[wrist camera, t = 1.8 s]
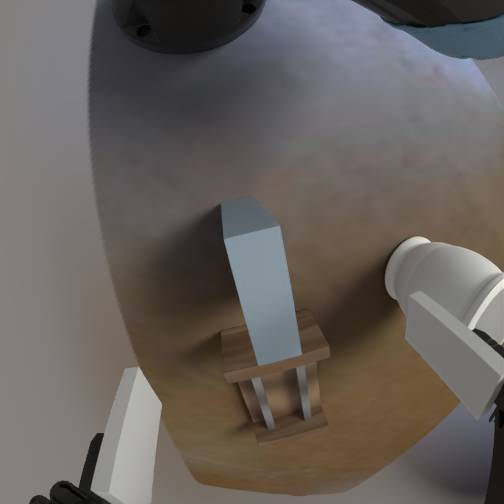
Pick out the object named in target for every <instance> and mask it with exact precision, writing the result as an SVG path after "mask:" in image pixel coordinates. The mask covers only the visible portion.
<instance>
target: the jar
mask: <svg viewBox="0 0 504 504" xmlns="http://www.w3.org/2000/svg"><path fill="white" fill-rule="evenodd" d="M385 286H386V290H387V292H388V293H389V295H390V296H391V297H392V298H394V299H395V300H397V301H398V303H399V306H400V308H401V310H402V311H403V313H404V314H405V316H406V317H407V314H408V301H409V295H411V294H413V293H416V292H418V291H422V292H423V293H424V294H426V295H427V296H428V297H430V298H431V299H432V300H434V301H435V302H436V303H438V304H439V305H440V306H441V307H443V308H444V309H445V310H447V311H448V312H449V313H450V314H452V315H453V316H454V317H455V318H457V319H458V320H459V321H460V322H462V323H463V324H464V325H465V326H466V327H468V328H469V329H470V330H473V329H475V328H476V329H479V330H481V331H484V332H485V333H487V334H488V335H489V336H490V337H491V338H492V339H494V340H495V341H496V342H498V344H500V345H501V344H502V343H503V341H504V272H501V271H500V270H499V269H498V268H497V267H496V266H495V265H494V264H493V263H492V262H490V261H489V260H488V259H486V258H485V257H483V256H481V255H480V254H478V253H476V252H474V251H471V250H469V249H466V248H462V247H458V246H452V245H449V244H445V243H440V242H430V241H429V240H428V239H426V238H424V237H412V238H409V239H407V240H406V241H404V242H403V243H402V244H400V245H399V246H398V248H397V249H396V250H395V251H394V253H393V254H392V256H391V258H390V260H389V262H388V264H387V267H386V272H385Z"/></svg>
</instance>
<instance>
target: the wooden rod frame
mask: <svg viewBox="0 0 504 504" xmlns="http://www.w3.org/2000/svg"><path fill="white" fill-rule="evenodd" d="M295 314H296V320H297V326H298V332H299V339H300V345H301V352H302V355H299V356H296V357H292V358H288V359H285V360H281V361H277V362H273V363H269V364H265V365H261V366H258V363H257V359H256V356H255V352H254V349H253V345H252V342H251V338H250V335H249V331H248V328H247V325H244V326H239V327H235V328H231V329H226V330H222V331H221V346H222V364H223V374H224V377H225V379H226V382H227V384H230V383H235V382H238V384H239V387H240V389H241V392H242V395H243V397H244V400H245V402H246V405H247V407H248V410H249V412H250V415H251V417H252V420H253V422H254V427H255V433H256V439H257V444H258V446H259V447H262V446H267V445H271V444H276V443H280V442H284V441H288V440H292V439H296V438H299V437H303V436H306V435H310V434H313V433H317V432H320V431H323V430H326V429H329V424H328V422H327V419H326V417H325V415H324V412H323V410H322V407H321V403H320V392H319V381H318V371H317V361H320V360H323V359H326V358H329V357H330V346H329V344H328V342H327V340H326V339H325V337H324V335H323V333H322V332H321V330H320V328H319V326H318V325H317V323H316V321H315V320H314V318H313V316H312V314H311V313H310V311H309V309H305V310H301V311H298V312H295Z"/></svg>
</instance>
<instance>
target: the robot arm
mask: <svg viewBox="0 0 504 504" xmlns="http://www.w3.org/2000/svg"><path fill="white" fill-rule="evenodd" d="M352 1H354V2H356V3H357V4H359V5H361V6H363V7H365V8H367V9H369V10H370V11H372V12H374V13H376V14H377V15H379V16H380V17H381V18H382V19H383V21H384V22H385V23H387V24H389V25H390V26H392V27H394V28H397V29H400V30H403V31H405V32H407V33H408V34H410V35H412V36H413V37H415V38H416V39H418V40H419V41H421V42H422V43H424V44H425V45H427V46H428V47H430V48H431V49H433V50H435V51H437V52H439V53H441V54H444V55H447V56H450V57H454V58H459V59H467V58H474V59H477V60H485V59H493V58H499V57H503V56H504V0H352ZM265 2H266V0H112V11H113V15H114V18H115V21H116V23H117V24H118V26H119V27H120V29H121V30H122V31H123V32H124V34H125V35H126V36H127V37H128V38H129V39H130V40H131V41H133V42H134V43H135V44H137V45H139V46H141V47H143V48H145V49H148V50H151V51H155V52H160V53H169V54H185V53H194V52H200V51H204V50H208V49H212V48H215V47H218V46H221V45H223V44H225V43H227V42H230V41H231V40H233V39H235V38H237V37H238V36H240V35H241V34H243V33H244V32H245V31H247V30H248V29H249V28H250V27H251V26H252V25H253V24H254V23H255V22H256V20H257V19H258V18H259V16H260V14H261V12H262V10H263V8H264V5H265ZM405 339H406V340H407V341H408V343H409V344H410V345H411V346H412V347H413V348H414V349H415V350H416V351H417V352H418V353H419V354H420V355H421V357H422V358H423V359H424V360H425V361H426V362H427V363H428V364H429V365H430V366H431V368H432V369H433V370H434V371H435V372H436V373H437V374H438V375H439V377H440V378H441V379H442V380H443V381H444V382H445V383H446V385H447V386H448V387H449V388H450V389H451V390H452V391H453V393H454V394H455V395H456V396H457V397H458V398H459V400H460V401H461V402H462V403H463V404H464V405H465V407H466V408H467V409H468V410H469V411H470V413H471V414H472V415H473V416H474V417H475V419H476V420H479V419H480V418H481V417H483V416H484V415H485V414H486V413H488V412H489V410H490V409H491V407H492V405H493V403H495V404H496V405H497V407H496V409H495V410H494V412H493V414H492V415H491V417H490V419H489V422H491V421H492V419H493V418H494V416H495V420H494V422H495V433H494V448H493V457H492V465H491V472H490V478H489V484H488V489H487V495H486V499H485V503H484V504H504V348H503V347H502V346H501V345H500V344H498V342H496V341H495V340H494V339H492V338H491V337H490V336H489V335H488V334H487V333H485V332H484V331H481V330H479V329H476V328H475V329H473V330H470V329H469V328H468V327H466V326H465V325H464V324H463V323H462V322H460V321H459V320H458V319H457V318H455V317H454V316H453V315H452V314H450V313H449V312H448V311H447V310H445V309H444V308H443V307H441V306H440V305H439V304H438V303H436V302H435V301H434V300H432V299H431V298H430V297H428V296H427V295H426V294H424V293H423V292H422V291H418V292H416V293H413V294H411V295H409V301H408V314H407V324H406V334H405ZM161 408H162V404H161V402H160V401H159V399H158V397H157V396H156V394H155V393H154V391H153V390H152V388H151V386H150V385H149V383H148V381H147V380H146V378H145V376H144V375H143V373H142V371H141V370H140V368H139V367H132V368H125V370H124V373H123V376H122V379H121V382H120V385H119V388H118V391H117V394H116V397H115V400H114V403H113V406H112V410H111V413H110V416H109V419H108V423H107V427H106V430H105V433H97V434H96V436H95V437H94V438H93V440H92V441H91V443H90V447H89V450H88V454H87V458H86V461H85V465H84V468H83V472H82V476H81V480H80V484H79V488H77V487H76V486H74V485H73V484H72V483H70V482H68V481H59V482H57V483H56V484H55V485H53V487H52V488H51V490H50V500H51V501H50V500H49V499H47V498H46V497H44V496H42V495H37V496H35V497H33V498H32V499H31V501H30V503H29V504H151V495H152V483H153V472H154V463H155V454H156V445H157V437H158V429H159V421H160V415H161Z"/></svg>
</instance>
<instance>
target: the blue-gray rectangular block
mask: <svg viewBox="0 0 504 504" xmlns="http://www.w3.org/2000/svg"><path fill="white" fill-rule="evenodd" d="M221 213H222V225H223V237H224V242H225V246H226V250H227V254H228V258H229V261H230V265H231V269H232V273H233V276H234V280H235V284H236V288H237V291H238V295H239V299H240V302H241V306H242V310H243V313H244V317H245V320H246V324H247V328H248V331H249V335H250V338H251V342H252V345H253V349H254V352H255V356H256V359H257V363H258V366H261V365H265V364H269V363H273V362H277V361H281V360H285V359H288V358H292V357H296V356H299V355H302V352H301V345H300V339H299V332H298V326H297V320H296V314H295V308H294V302H293V296H292V290H291V285H290V279H289V273H288V268H287V262H286V257H285V251H284V246H283V241H282V235H281V230H280V225H279V224H278V223H277V222H276V221H275V220H274V219H273V218H272V217H271V216H270V214H269V213H268V212H267V211H266V210H265V209H264V208H263V207H262V206H261V205H260V204H259V202H258V201H257V200H256V199H255V198H254V197H253V196H248V197H244V198H240V199H236V200H232V201H227V202H223V203H221Z"/></svg>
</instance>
